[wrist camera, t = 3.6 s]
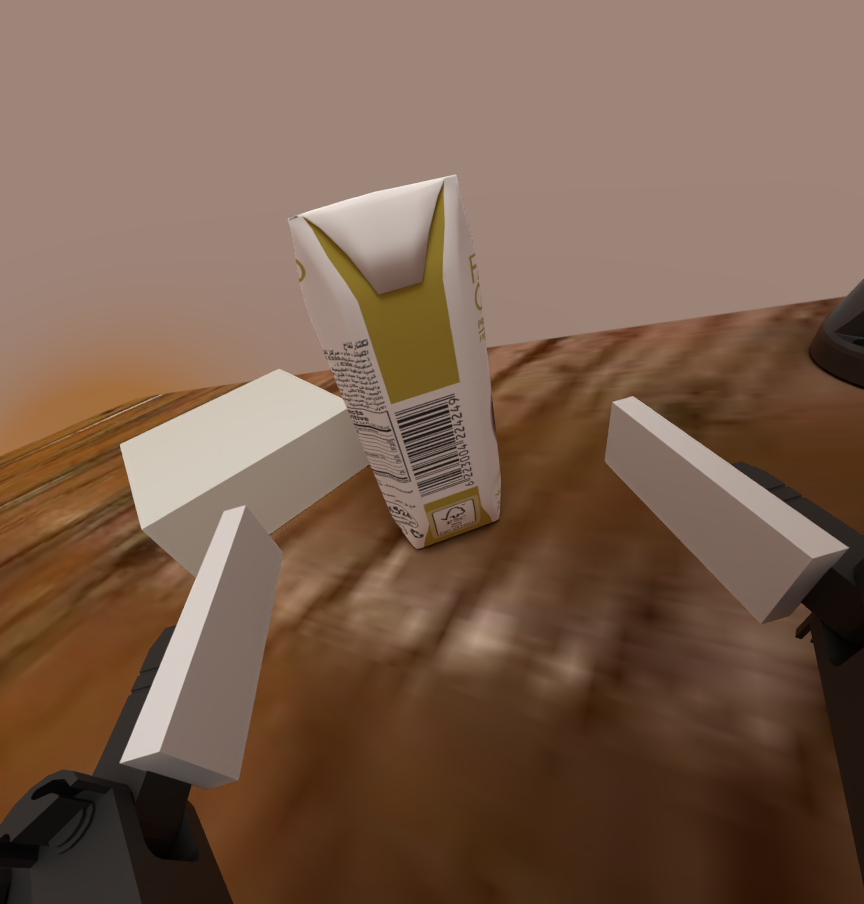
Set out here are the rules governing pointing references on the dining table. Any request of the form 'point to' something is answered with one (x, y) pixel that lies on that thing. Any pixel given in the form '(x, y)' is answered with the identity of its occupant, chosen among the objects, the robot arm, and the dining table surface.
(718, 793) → the dining table surface
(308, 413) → the stacking block
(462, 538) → the dining table surface
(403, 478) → the juice carton
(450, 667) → the dining table surface
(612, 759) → the dining table surface
